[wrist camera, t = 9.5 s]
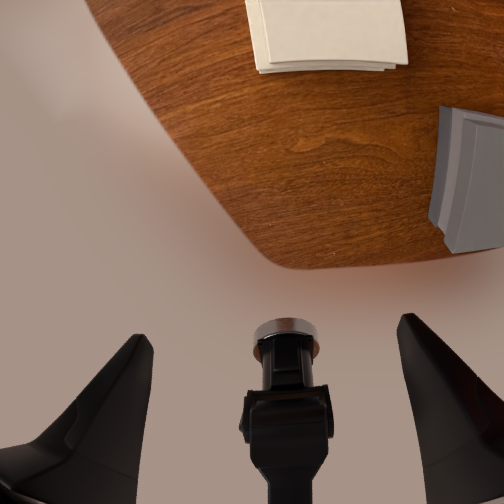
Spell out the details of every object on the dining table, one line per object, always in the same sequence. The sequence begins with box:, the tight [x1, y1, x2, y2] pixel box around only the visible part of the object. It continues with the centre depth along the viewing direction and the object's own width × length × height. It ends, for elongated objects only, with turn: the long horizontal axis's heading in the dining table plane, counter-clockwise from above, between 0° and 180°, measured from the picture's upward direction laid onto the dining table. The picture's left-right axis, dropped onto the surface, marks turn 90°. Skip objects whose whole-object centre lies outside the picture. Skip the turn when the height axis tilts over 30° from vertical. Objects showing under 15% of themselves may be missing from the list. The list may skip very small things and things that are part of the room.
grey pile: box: [428, 106, 504, 254], centre depth 15 cm, size 9×7×4 cm
